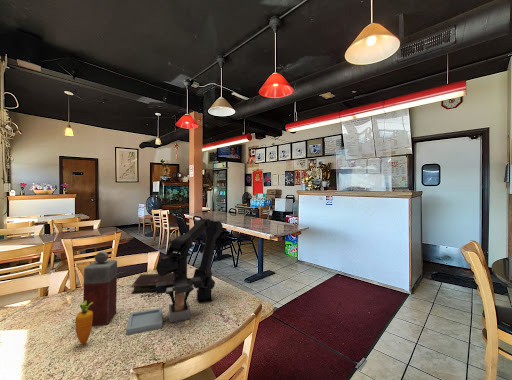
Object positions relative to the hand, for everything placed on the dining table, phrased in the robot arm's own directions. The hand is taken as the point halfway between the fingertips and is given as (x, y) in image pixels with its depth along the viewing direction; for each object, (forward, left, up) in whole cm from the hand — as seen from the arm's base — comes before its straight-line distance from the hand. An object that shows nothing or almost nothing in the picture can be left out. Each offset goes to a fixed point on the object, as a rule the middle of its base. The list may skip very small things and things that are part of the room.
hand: (179, 304), depth 99 cm
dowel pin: (0, 0, -4) cm, 4 cm away
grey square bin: (0, 0, -5) cm, 5 cm away
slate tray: (+13, 0, -5) cm, 14 cm away
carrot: (+32, +7, -5) cm, 33 cm away
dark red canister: (+30, -10, -5) cm, 32 cm away
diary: (+7, -37, -6) cm, 38 cm away
